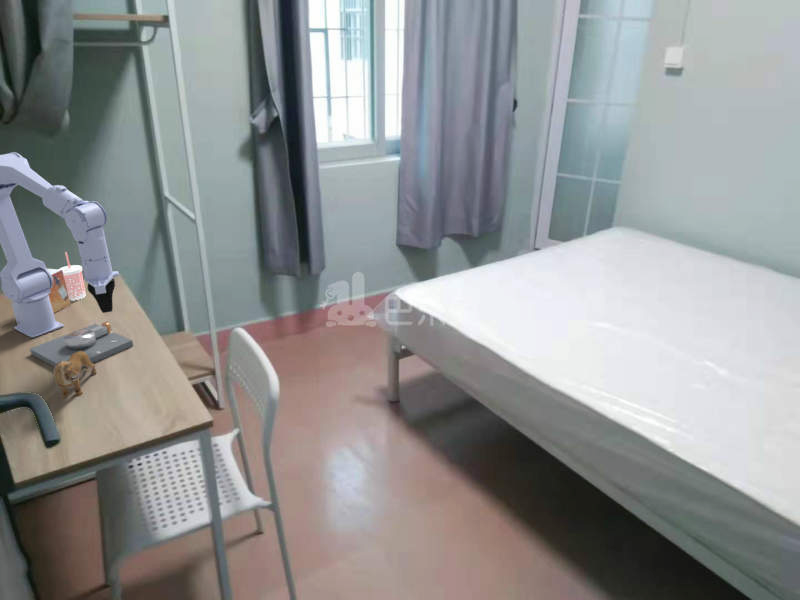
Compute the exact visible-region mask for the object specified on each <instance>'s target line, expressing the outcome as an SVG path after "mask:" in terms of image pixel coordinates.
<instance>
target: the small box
mask: <svg viewBox="0 0 800 600" xmlns="http://www.w3.org/2000/svg"><path fill="white" fill-rule="evenodd" d="M59 269H60V268H59ZM59 269H56V268H47V270H48V271H49V272H50V274H51V275H52V278H53V287H52V288H51V289H50V291H51V293H49V294H48V295H49V299H50V302H51V306H52V310H53V313H54V314H55V313H56V312H59V311H60V310H62V309H64V308H66V307H68V306H71V301H70V299H69V295H68V291H67V287H66V283H65V279H64V275H63V271H62V270H59Z"/></svg>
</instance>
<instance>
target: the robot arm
mask: <svg viewBox="0 0 800 600" xmlns="http://www.w3.org/2000/svg"><path fill="white" fill-rule="evenodd" d="M17 186H20V187H22V188H24V189H25V190H27V191H29V192H30V193H33V194H34V195H36V196H38V197H40V198H41V199H42V204H43V205H44V207H46V208H47V209H49V210H50V211H52V213H55V214H56V215H58V216H60V218H62V219H63V220H64V221H65V225H66V226H67V228H68V229H69V230H70V232H71V234H72V235H71V236H72V237H73V239H74V240H75V241H76V242H77V248H78V251H79V252H78V253H79V257H80V260H81V266H82V269H83V270H82V271H83V273H84V276H83V279H84V281H85V282H86V283H87V291H88V292H89V293H90V294H91V295H92V296H93V298H94V299H95V301H96V303H97V305H98V307H99V309H100V311H101V312H102V313H103V314H104V313H110V312H113V294H114V290H115V287H116V283H115V282H116V281H115V278H116V277H119V276H120V275H119V274H120V273H119V271H118V270H115V271H113V268H112V263H111V258H110V254H109V250H108V245H107V240H106V239H107V238H106V235H105V230H104V226H105V225H107V222H108V216H107V215H108V214H107V211H106V210H105V209H104V207H103V206H102V205H101V204H100V203H99V202H98V201H96V200H95V201H94V200H93V201H88V200H83V199H82V198H81V197H79V196H78V195H76V194H75V193H73V192H71V191H70V190H68V188H67V187H66V186H64V185H63V184H62V185H61V184H60V185H59V184H56V185H52V184H51V183H49V182H48V181H47V180H46V179H45V178H43V177H42V176H40V175H39V174H38V173H37V172H36V171H34V170H33V169H32V168H31V166H30V164H29V162H28V159H27V158H26V157H23V155H21V154H20V153H18V152H15V151H13V152H9V153H5V154H0V246H1V248H2V251H3V253H4V256H5V260H6V261H7V263H6V264H5V266H4V267H3V268H2V269H1V271H0V280H1V281H0V282H1V290H2V292H3V295H5V297H6V298H7V299H8V300H10V301H11V306H12V307H11V308H12V310H13V314H14V317H15V320H16V325H15V326H14V327H13V329H14V330H16V331H18V332H20V333H22V334H23V335H25V336H28V337H29V338H36V337H39V336H42V335H44V334H47V333H50V332H52V331H55V330H58V329H60V328H63V327H64V324H63V323H61V322H59V321H57V320H56V317H55V313H53V310H52V306H51V302H50V299H49V295H48V294H49V293H51V291H50V289H51V288H52V287H53V278H52V275H51V274H50V272H49V271H48V270H47V269H48V268H47V265H46V264H45V262H44V261H42V260H39V259H37V258H34V257H33V255H32V253H31V250H30V247H29V245H28V241H27V239H26V237H25V235H24V231H23V229H22V226H21V224H20V221H19V217H18V215H17V212H16V209H15V207H14V205H13V201H12V198H11V193H12V192H13V190H14V188H16V187H17Z"/></svg>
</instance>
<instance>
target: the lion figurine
mask: <svg viewBox="0 0 800 600" xmlns="http://www.w3.org/2000/svg"><path fill="white" fill-rule="evenodd" d="M82 365H84V366H85V367H84V368H85V370H88V369H91V370H90V375H92V376H95V375H96V374H97V369H96V366H95V363H91V361H90V359H89V357H88V355H87V354H86V353H85V352H83V351H78V352H76V353H74V354H72V355H71V357H70V359H69V360H68V362H66V361H61V362H59V363H57V364H56V365H55V367H53V369H52V373H53V375H52V376H53V377H52V378H53V380H54V383H55V384H56V385H57V386H59V387H60V389H61V390H62V394H61V398H65V397H66V398H67V397H69V394H70V393H69V390H68V388H70V387H72V386H74V393H75V395H76V396H81V395H83V393H84V392H83V390H82V388H81V385H80V373H81V371H82V368H81V367H82Z"/></svg>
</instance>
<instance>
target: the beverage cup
mask: <svg viewBox="0 0 800 600" xmlns="http://www.w3.org/2000/svg"><path fill="white" fill-rule="evenodd" d="M64 255H65V258H66V263H67V265H65V266H61V267H60V268H59V270H62V271H63V275H64V279H65V283H66V287H67V291H68V295H69V299H70V300H71V301H70V302H76V301H75V300H78V301H80V300H79V299H81V300H83V299H82V298H84V297H85V296H86V297H87V294H86V293H87V292H86V287H85V282H84V281H85V280H84V276H83V271H84V270H83V265H79V264H77V265H76V264H73V265H71V264H70V259H69V255H68V252H67V251H64ZM86 297H85V298H86ZM85 298H84V299H85Z"/></svg>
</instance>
